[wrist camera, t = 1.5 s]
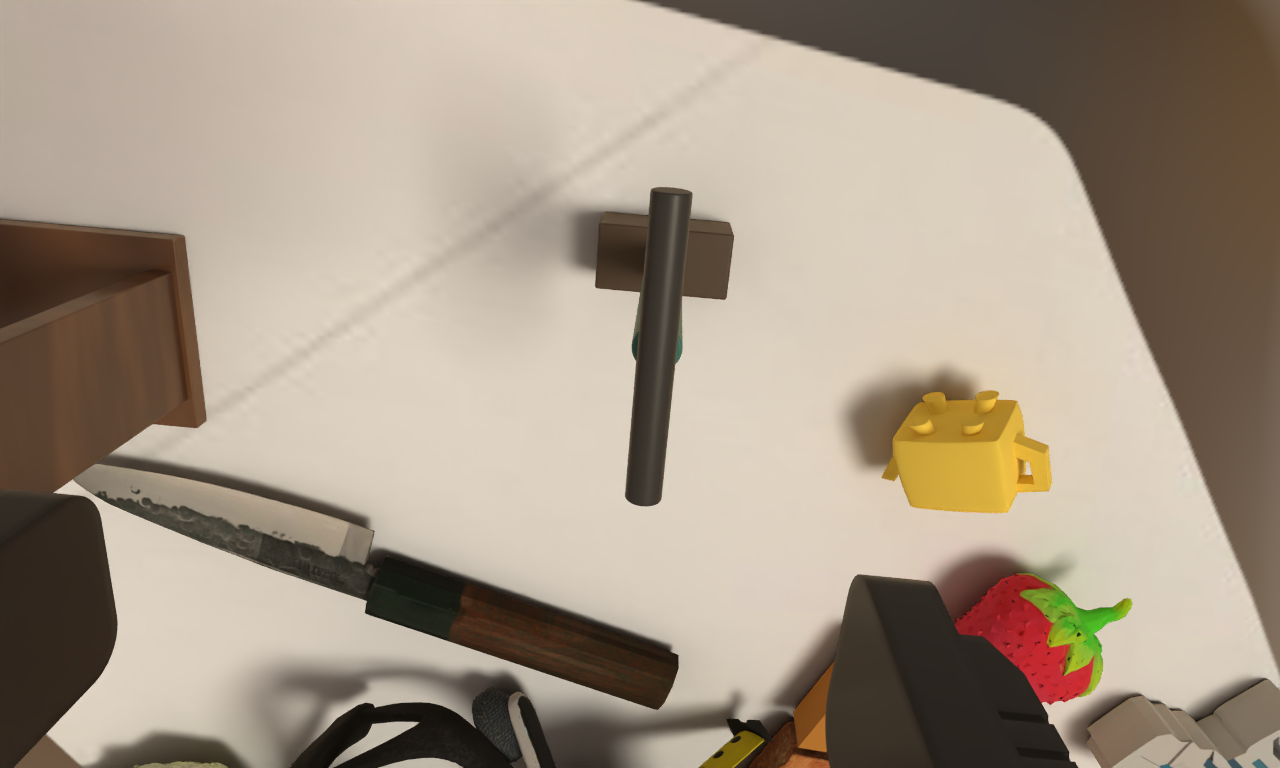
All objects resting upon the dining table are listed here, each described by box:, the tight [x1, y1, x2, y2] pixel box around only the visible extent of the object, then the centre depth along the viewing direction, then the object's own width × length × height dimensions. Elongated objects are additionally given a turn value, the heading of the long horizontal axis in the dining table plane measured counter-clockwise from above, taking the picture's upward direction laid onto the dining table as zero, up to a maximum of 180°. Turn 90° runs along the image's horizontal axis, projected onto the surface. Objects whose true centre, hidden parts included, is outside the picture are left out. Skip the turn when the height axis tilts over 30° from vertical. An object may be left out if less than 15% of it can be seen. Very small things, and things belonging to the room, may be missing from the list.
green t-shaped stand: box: [595, 187, 734, 506], centre depth 33 cm, size 6×10×16 cm, turn 175°
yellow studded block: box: [882, 391, 1052, 513], centre depth 41 cm, size 8×6×5 cm
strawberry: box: [955, 573, 1132, 705], centre depth 44 cm, size 6×7×10 cm
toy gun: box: [1087, 680, 1280, 768], centre depth 47 cm, size 3×14×10 cm
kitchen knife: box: [73, 464, 678, 710], centre depth 46 cm, size 36×2×5 cm
